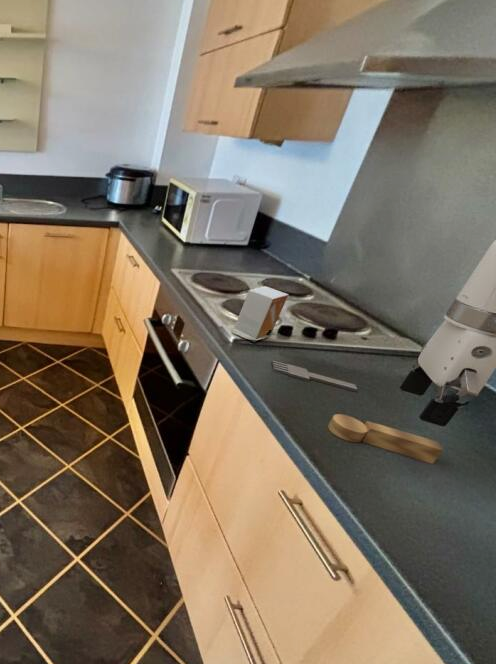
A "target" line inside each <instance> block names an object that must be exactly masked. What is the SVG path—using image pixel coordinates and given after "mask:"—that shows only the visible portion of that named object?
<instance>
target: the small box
mask: <svg viewBox="0 0 496 664" xmlns="http://www.w3.org/2000/svg"><path fill="white" fill-rule="evenodd" d="M288 297H289V293H286V292H283V291H280V290H277V289H275V288H272V287H269V286H266V285H264V286H260V287H255V288H252V289H248V291H247V294H246V297H245V299H244V302H243V305H242V307H241V309H240V312H239V315H238V317H237V320H236V321H235V324H234V327H233V329H234V328H235V329H237V330H239V331H241V332H243V333H245V334H247V335H249V336H251V337H253V338H255V339H258V338H260V337H263V336H265V335H266V334H267V333H268V332H269V330H273V331H274V329H275V327H276V326H275V325H276V324H277V322H278V319H279V317H280V315H281V313H282V310H283V308H284V306H285V304H286V302H287V300H288Z"/></svg>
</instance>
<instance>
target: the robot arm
mask: <svg viewBox="0 0 496 664" xmlns="http://www.w3.org/2000/svg"><path fill="white" fill-rule="evenodd" d="M443 319H444V321H443V322H442V323H441V324H440V325H439V327H438V328H437V329H436V330H435V332H434V333H433V334H432V336H431V337H430V338H429V340H428V341H427V343H426V342H425V343H424V344H423V345H422V347H421V350H420V353H419V354H418V355H417V356H416V362H414V363H413V364H412V365H411V370H410V371H409V372H408V374H407V375H406V377H405V379H404V380H403V381H402V383H401V384H400V386H399V389H400V390H401V391H402V392H406V393H409V394H413V395H417V396H424V395H425V393H426V392H427V391H428V389H429V387H430V386H431V385H432V383H433V384H434V385H436V386H437V391H436V395H435V396H436V397H435V398H431V399H430V400H429V402H428V403H427V404H426V405H425V407H424V409H423V410H422V412H421V413H420V414H419V415H418V418H419V419H420V420H421V421H422V422H425V423H429V424H432V425H436V426H440V427H447V425H448V424H449V423H450V421H451V420H452V419H453V418H454V416H455V414H456V413H457V412H458V410H459V409H463V408H464V406H467V405H468V404H470V403H471V401H472V400H475V399H476V398H477V397H478V396H479V394H480V392H481V391H482V389H483V388H484V387H485V386H486V383H488V381H489V379H490V378H491V376H492V375H493V374H494V372H495V370H496V239H495V240H494V241H493V242H492V243H491V244H490V246H489V247H488V249H487V250H486V251H485V254H484V255H483V256H482V258H481V259H480V261H479V263H478V264H477V265H476V267H475V268H474V270H473V272H472V273H471V275H470V276H469V278H468V279H467V280H466V283H465V284H464V285H463V286H462V289H460V291H459V293H458V295H457V296H456V298H455V299H454V300H453V302H452V304H451V305H450V307H449V308H448V310H447V311H446V313H445V314H444V316H443ZM448 391H450V392H455V393H451V394H447V392H448Z"/></svg>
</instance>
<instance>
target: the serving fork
mask: <svg viewBox="0 0 496 664" xmlns="http://www.w3.org/2000/svg"><path fill="white" fill-rule="evenodd" d="M271 368H272V372H275V373H278V374H282V375H284V376H285V375H286V376H288V377H291V378H295V379H298V380H301V381H305V382H309V381H314V382H318V383H321V384H325V385H328V386H331V387H335V388H339V389H343V390H346V391H350V392H354V393H357V391H358V387H357V385H356V383H355V384H354V383H351V382H347V381H344V380H340V379H336V378H333V377H328V376H326V375H321V374H317V373H314V372H310V371H308V369H307V368H304V367H300V366H297V365H294V364H289V363H284V362H280V361H276V360H272V361H271Z"/></svg>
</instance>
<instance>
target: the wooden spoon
mask: <svg viewBox="0 0 496 664" xmlns="http://www.w3.org/2000/svg"><path fill="white" fill-rule="evenodd" d="M327 429H328V430H329V431H330V432H331V433H332V434H333V435H335V436H336V437H338V438H340V439H341V440H344V441H347V442H350V443H360V442H361V443H364V444H368V445H371V446H375V447H378V448H381V449H384V450H387V451H390V452H393V453H397V454H400V455H403V456H405V457H409V458H412V459H415V460H419V461H422V462H425V463H427V464H431V465H434V463H435V462H436V460H438V458H439V456H440V455H441V454H442V453H443V448H442V446H441V445H440V444H439V442H438V441H437V440H433V439H431V438H427V437H423V436H420V435H417V434H413V433H409V432H407V431H403V430H400V429H396V428H393V427H390V426H386V425H383V424H380V423H377V422H376V423H375V422H372V421H369V420H366V421H365V423H363V422H362V421H361V420H359V419H357V418H355V417H353V416H350V415H347V414H344V413H343V414H342V413H337V414H336V413H335V414H334V415H333V416H332V417H331V419H330V421H329V423H328V425H327Z"/></svg>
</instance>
